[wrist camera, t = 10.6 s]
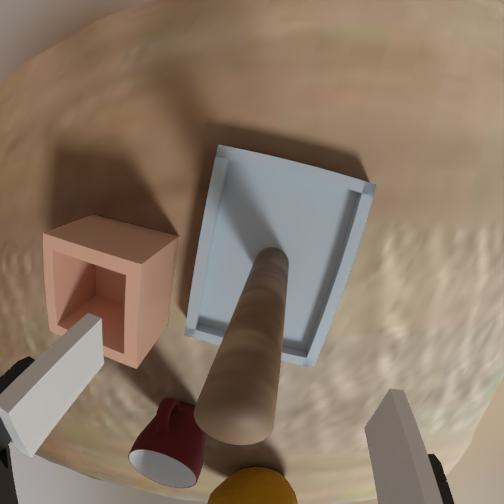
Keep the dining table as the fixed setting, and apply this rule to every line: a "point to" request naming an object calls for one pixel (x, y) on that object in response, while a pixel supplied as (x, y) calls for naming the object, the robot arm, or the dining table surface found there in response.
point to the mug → (170, 446)
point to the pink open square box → (110, 282)
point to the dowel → (248, 358)
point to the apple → (254, 488)
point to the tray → (277, 243)
